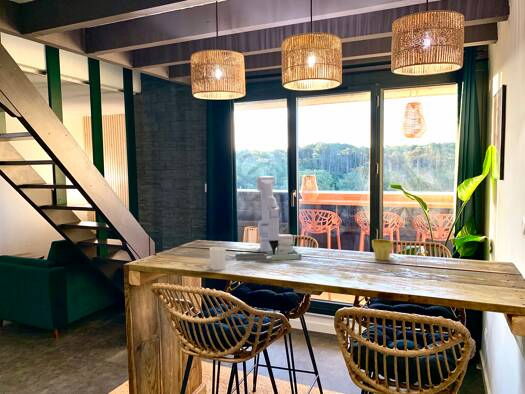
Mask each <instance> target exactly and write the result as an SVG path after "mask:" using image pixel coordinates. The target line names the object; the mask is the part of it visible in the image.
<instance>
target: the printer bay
mask: <svg viewBox="0 0 525 394" xmlns="http://www.w3.org/2000/svg"><path fill="white" fill-rule="evenodd" d="M234 255H235V258H236V261H253V260H254V261H255V260H267V256H268V255H267V256H266V255H265V252H256V253H255V252H253V253H251V252H250V253H249V252H248V253H235V254H234Z"/></svg>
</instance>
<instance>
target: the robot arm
mask: <svg viewBox="0 0 525 394" xmlns="http://www.w3.org/2000/svg"><path fill="white" fill-rule="evenodd" d="M275 180H276V179H275V176H273V175H271V176H270V175H264V176H263V175H262V176H260V175H258V176H257V178H256V189H257V191H259V193H260V202H261V203H260V204H261V205H260V207H261V218H262V219H260V220H259V221H258V223H257V234H258V236H260V238H259V244H260V247H258V250H259V251H260V253H268V250H272V251H273V255H275V250H277V245H278V240H282V239H284V238H279V235H280V223H279V222H280V218H281V209H280V207H279V206H278V203H277V199H276V197H274V191H273V188H274V187H275V184H276V181H275Z"/></svg>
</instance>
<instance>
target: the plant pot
mask: <svg viewBox="0 0 525 394" xmlns="http://www.w3.org/2000/svg"><path fill="white" fill-rule="evenodd" d="M371 247H372V249H373V253H374V259H375V260H377V259H378V260H377V261H388V260H389V257H390V255H391V249H392V248H393V241H392V240H389V239H379V238H378V239H372V240H371ZM387 259H388V260H387Z"/></svg>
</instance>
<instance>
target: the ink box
mask: <svg viewBox="0 0 525 394" xmlns="http://www.w3.org/2000/svg"><path fill="white" fill-rule="evenodd" d="M279 238H284V239H282V240H278V245H277V247H276V250H277V255H283V254H293V249H294V236H293V235H292V234H279Z"/></svg>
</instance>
